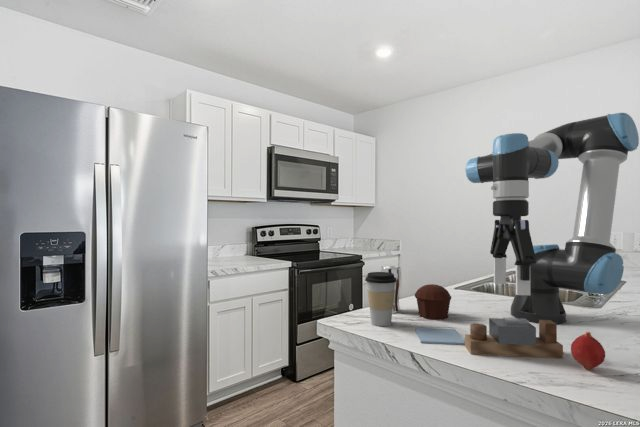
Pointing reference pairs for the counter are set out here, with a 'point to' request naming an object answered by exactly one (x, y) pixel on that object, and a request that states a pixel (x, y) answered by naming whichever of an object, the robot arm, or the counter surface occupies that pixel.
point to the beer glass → (397, 275)
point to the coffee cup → (381, 297)
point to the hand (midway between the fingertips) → (510, 289)
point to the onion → (587, 351)
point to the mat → (439, 336)
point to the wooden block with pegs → (489, 346)
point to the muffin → (433, 302)
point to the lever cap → (512, 331)
